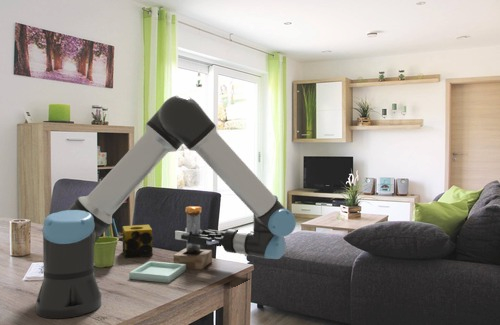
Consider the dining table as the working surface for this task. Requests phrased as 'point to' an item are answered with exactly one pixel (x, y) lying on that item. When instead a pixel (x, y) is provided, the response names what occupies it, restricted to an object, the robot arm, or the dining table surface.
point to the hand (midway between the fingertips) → (181, 233)
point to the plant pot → (105, 251)
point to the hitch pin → (193, 228)
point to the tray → (157, 271)
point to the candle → (137, 241)
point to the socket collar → (193, 259)
